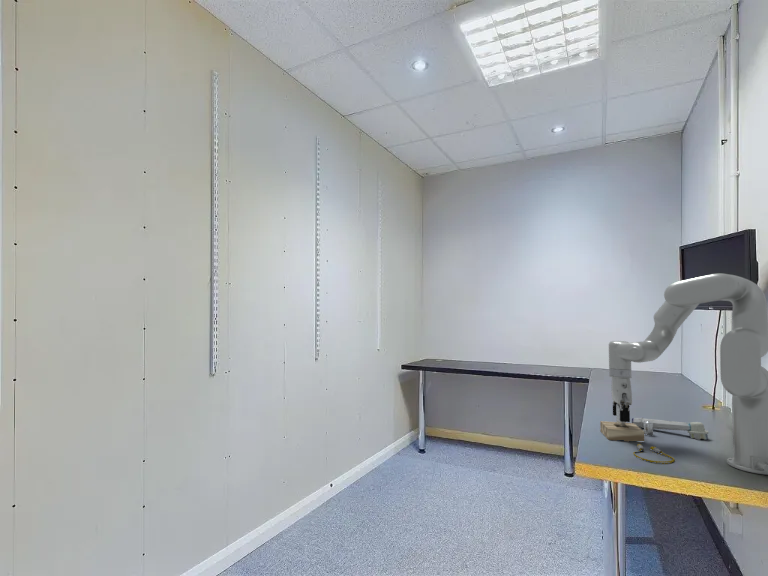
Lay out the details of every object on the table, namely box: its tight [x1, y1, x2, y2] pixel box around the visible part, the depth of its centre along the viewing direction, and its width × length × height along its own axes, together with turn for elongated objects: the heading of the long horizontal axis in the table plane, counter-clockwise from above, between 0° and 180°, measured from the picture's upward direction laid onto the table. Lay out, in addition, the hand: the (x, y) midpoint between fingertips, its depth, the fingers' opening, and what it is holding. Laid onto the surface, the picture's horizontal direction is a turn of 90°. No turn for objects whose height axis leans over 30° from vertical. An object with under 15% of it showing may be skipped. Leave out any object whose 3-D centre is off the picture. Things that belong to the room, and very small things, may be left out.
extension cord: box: [632, 443, 676, 465], centre depth 139 cm, size 12×16×2 cm
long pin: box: [615, 404, 627, 428], centre depth 162 cm, size 3×3×12 cm
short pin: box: [643, 421, 654, 436], centre depth 164 cm, size 3×3×5 cm
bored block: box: [599, 420, 645, 442], centre depth 161 cm, size 12×12×4 cm
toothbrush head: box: [631, 417, 709, 440], centre depth 167 cm, size 5×7×25 cm
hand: (621, 418), depth 161 cm, fingers open, 9 cm apart
